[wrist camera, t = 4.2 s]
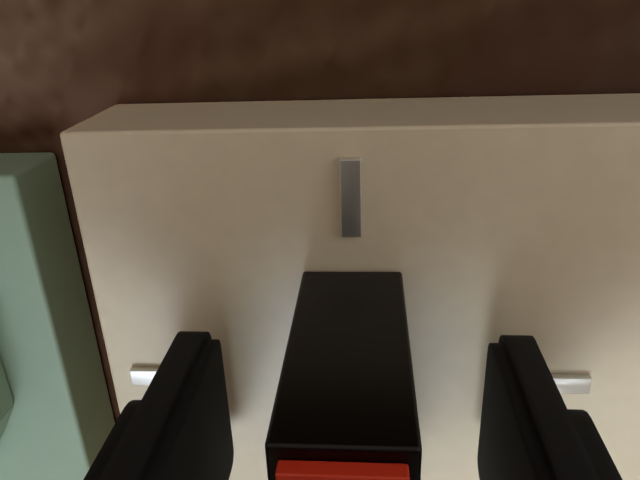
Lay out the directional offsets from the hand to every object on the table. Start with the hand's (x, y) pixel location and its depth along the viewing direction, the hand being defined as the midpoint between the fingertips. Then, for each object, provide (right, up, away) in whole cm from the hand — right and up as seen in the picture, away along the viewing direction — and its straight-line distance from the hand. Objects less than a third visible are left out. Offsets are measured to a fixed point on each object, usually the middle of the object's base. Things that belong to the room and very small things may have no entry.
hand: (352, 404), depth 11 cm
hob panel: (+2, +1, +3) cm, 4 cm away
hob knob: (0, 0, +1) cm, 1 cm away
